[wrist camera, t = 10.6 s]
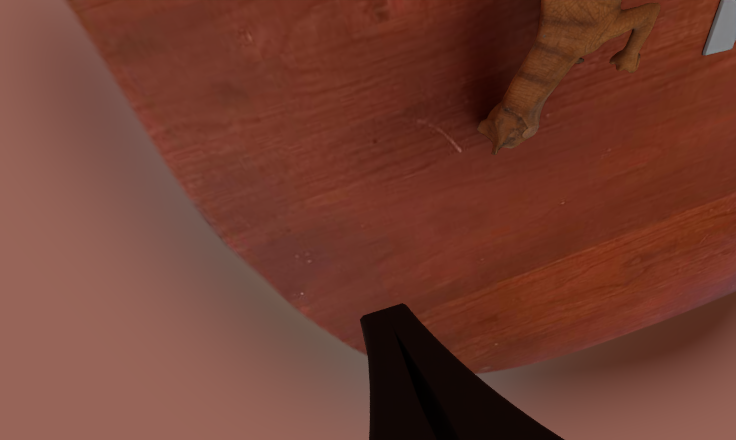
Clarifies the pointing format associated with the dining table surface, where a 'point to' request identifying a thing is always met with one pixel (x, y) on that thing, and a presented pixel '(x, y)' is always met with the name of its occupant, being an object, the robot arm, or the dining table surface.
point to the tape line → (722, 28)
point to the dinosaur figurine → (564, 59)
